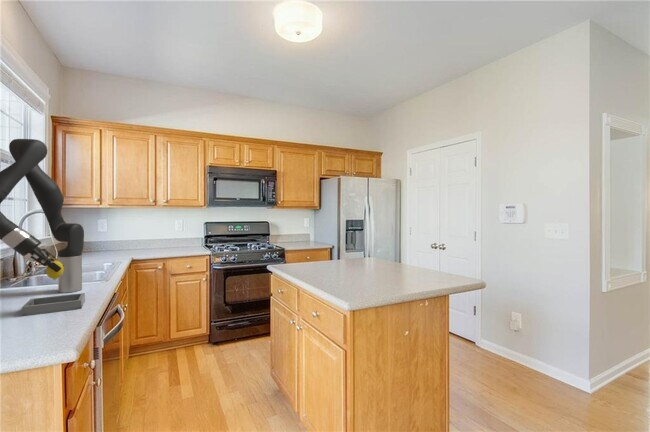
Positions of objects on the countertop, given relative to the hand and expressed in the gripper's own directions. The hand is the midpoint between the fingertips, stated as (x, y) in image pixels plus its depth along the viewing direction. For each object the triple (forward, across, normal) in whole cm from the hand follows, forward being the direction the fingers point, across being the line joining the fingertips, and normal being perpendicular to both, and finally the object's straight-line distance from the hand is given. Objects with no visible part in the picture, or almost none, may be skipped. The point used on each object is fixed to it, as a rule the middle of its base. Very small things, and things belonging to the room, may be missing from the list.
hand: (60, 269), depth 132 cm
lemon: (+2, 0, +4) cm, 5 cm away
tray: (+10, 0, +12) cm, 16 cm away
